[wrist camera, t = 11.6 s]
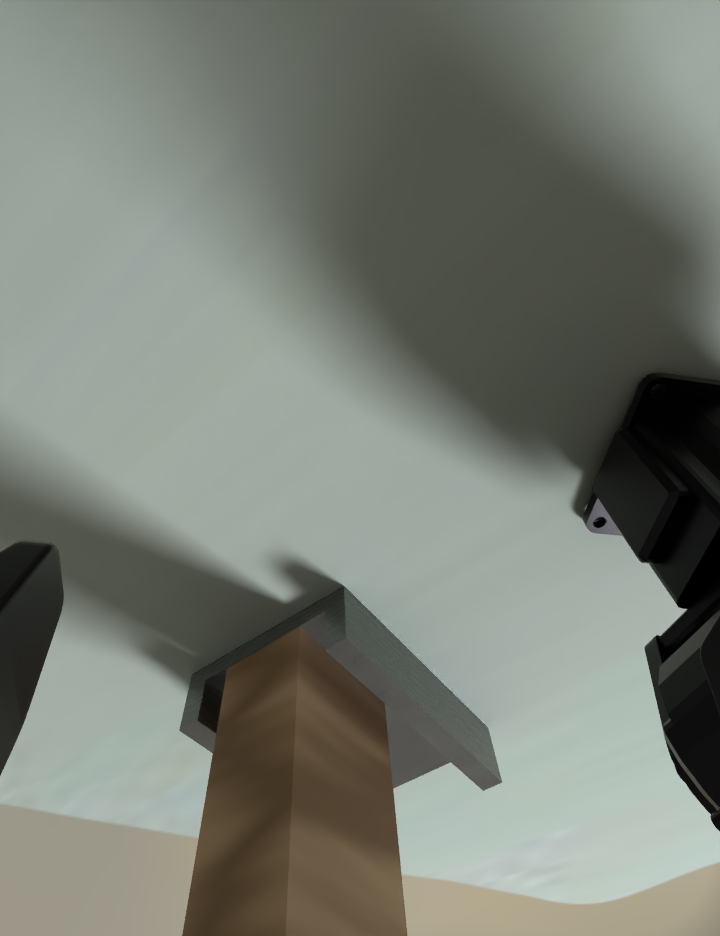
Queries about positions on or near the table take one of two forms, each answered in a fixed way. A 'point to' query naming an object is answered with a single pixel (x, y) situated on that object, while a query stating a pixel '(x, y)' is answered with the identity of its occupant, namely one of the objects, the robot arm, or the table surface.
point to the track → (385, 674)
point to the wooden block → (298, 804)
